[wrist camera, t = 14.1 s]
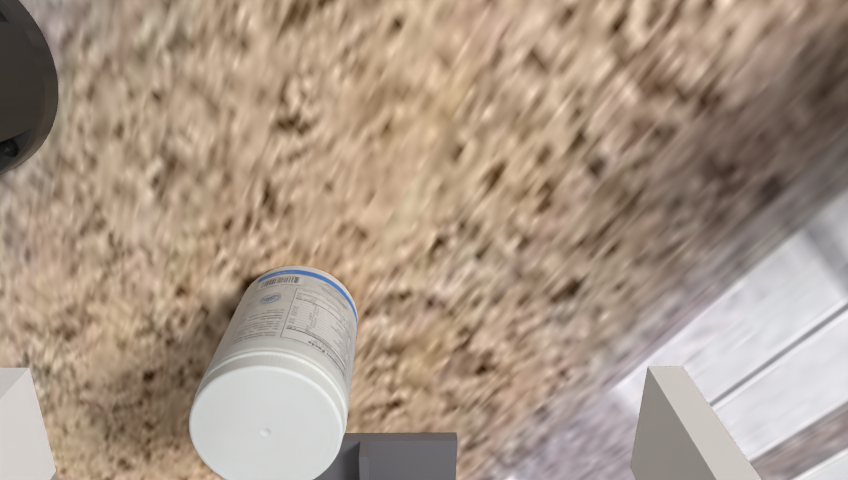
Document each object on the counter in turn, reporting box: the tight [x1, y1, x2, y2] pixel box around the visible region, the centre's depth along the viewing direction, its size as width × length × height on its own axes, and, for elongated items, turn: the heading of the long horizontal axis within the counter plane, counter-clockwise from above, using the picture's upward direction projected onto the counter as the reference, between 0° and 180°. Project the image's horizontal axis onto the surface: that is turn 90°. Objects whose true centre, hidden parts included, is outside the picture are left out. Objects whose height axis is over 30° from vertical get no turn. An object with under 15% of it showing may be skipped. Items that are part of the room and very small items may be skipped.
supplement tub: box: [189, 265, 358, 480], centre depth 46 cm, size 10×10×15 cm
